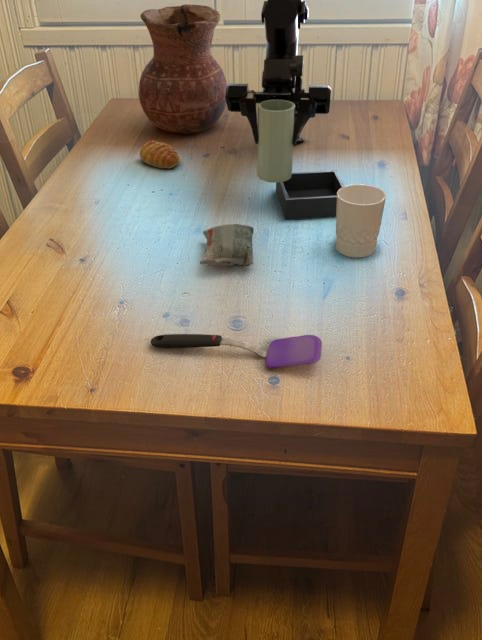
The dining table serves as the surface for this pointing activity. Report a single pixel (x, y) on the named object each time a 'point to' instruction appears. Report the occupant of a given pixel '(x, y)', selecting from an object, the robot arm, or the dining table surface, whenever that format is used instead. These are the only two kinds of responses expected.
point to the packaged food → (229, 246)
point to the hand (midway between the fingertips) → (274, 143)
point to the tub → (309, 195)
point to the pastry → (159, 155)
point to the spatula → (252, 347)
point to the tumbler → (275, 140)
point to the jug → (182, 70)
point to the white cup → (358, 219)
